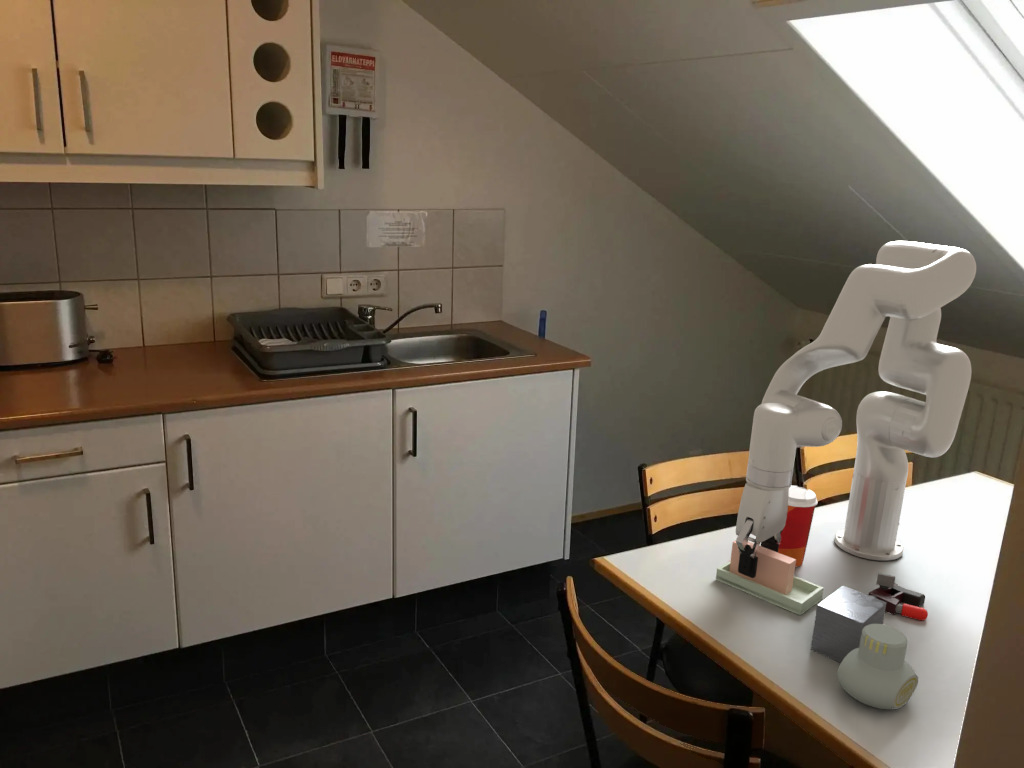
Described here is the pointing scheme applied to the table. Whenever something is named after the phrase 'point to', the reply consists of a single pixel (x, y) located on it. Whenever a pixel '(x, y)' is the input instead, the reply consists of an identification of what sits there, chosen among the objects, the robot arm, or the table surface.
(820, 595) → the tray
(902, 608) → the toy gun
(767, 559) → the pink rectangular block
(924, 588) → the table surface
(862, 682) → the air freshener
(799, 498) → the paper cup
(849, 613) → the dispenser
